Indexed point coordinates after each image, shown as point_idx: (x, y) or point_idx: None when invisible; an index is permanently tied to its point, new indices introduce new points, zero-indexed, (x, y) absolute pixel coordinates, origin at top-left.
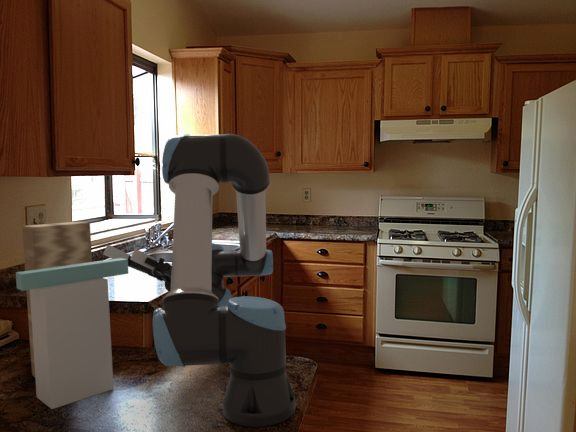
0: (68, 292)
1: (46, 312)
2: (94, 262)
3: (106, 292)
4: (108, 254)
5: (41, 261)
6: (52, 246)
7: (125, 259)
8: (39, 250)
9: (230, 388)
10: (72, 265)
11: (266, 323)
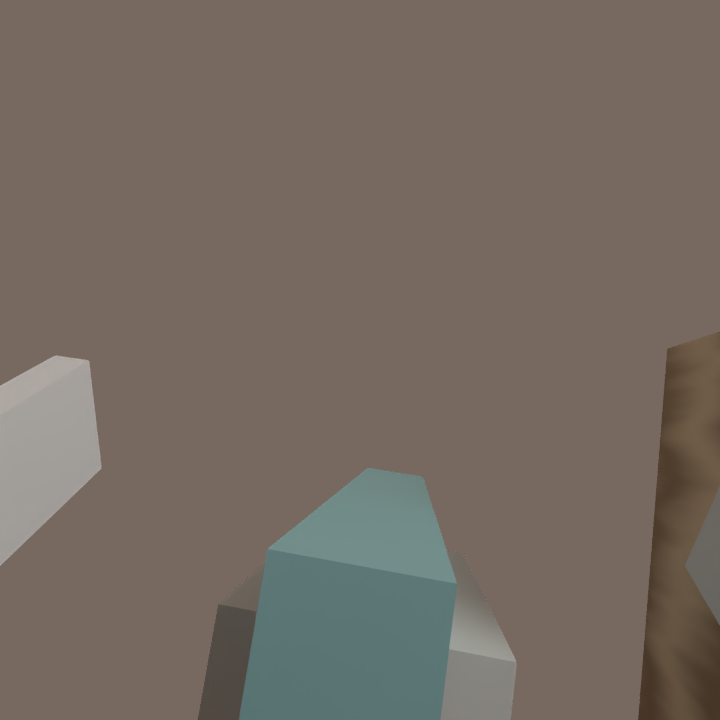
0: None
1: None
2: (397, 512)
3: (205, 700)
4: (716, 587)
5: (670, 530)
6: (712, 456)
7: (285, 545)
8: (672, 467)
9: None
10: (400, 494)
11: None
